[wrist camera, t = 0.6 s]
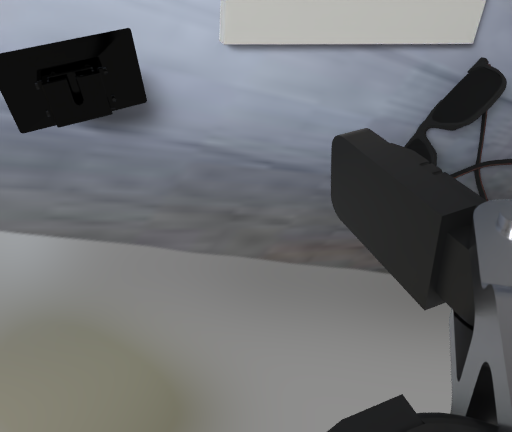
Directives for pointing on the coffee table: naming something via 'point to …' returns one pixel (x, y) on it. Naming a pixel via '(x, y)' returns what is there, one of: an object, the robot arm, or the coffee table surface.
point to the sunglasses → (464, 115)
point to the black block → (71, 80)
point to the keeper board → (349, 21)
